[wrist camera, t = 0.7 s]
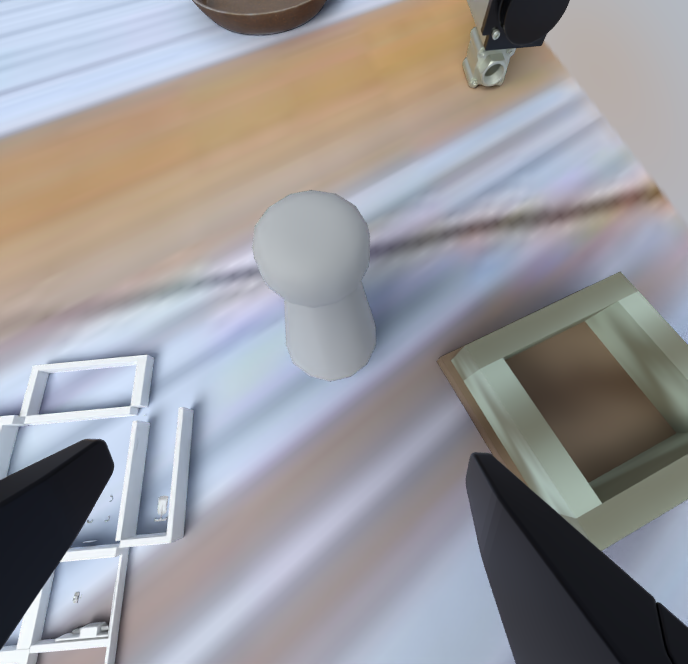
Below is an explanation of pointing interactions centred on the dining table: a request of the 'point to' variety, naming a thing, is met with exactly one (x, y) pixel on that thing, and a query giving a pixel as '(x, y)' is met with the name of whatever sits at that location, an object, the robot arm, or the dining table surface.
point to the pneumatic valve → (505, 34)
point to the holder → (585, 406)
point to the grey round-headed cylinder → (319, 280)
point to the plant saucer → (260, 14)
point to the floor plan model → (3, 437)
